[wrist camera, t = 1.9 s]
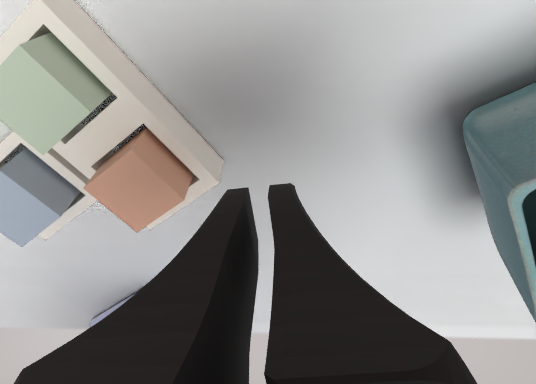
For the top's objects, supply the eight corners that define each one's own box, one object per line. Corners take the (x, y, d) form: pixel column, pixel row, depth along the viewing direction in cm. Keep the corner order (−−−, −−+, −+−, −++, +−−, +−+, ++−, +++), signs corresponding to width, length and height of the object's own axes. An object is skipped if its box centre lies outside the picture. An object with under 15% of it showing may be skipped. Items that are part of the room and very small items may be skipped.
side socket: (63, 216, 24) (45, 240, 22) (-11, 159, 22) (-39, 181, 20) (116, 174, 23) (101, 197, 21) (42, 109, 20) (17, 127, 18)
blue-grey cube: (46, 217, 22) (22, 247, 20) (-7, 178, 21) (-40, 205, 19) (82, 188, 21) (60, 216, 19) (29, 145, 20) (-2, 169, 17)
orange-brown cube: (150, 203, 22) (136, 232, 19) (103, 161, 20) (82, 188, 18) (193, 172, 20) (184, 200, 18) (147, 126, 19) (130, 149, 17)
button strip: (160, 206, 24) (149, 230, 22) (-2, 62, 19) (-34, 76, 17) (224, 161, 22) (219, 183, 20) (64, -11, 17) (36, -5, 15)
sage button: (69, 131, 19) (42, 155, 17) (8, 78, 18) (-29, 97, 15) (112, 92, 18) (91, 112, 16) (52, 31, 16) (18, 45, 14)
